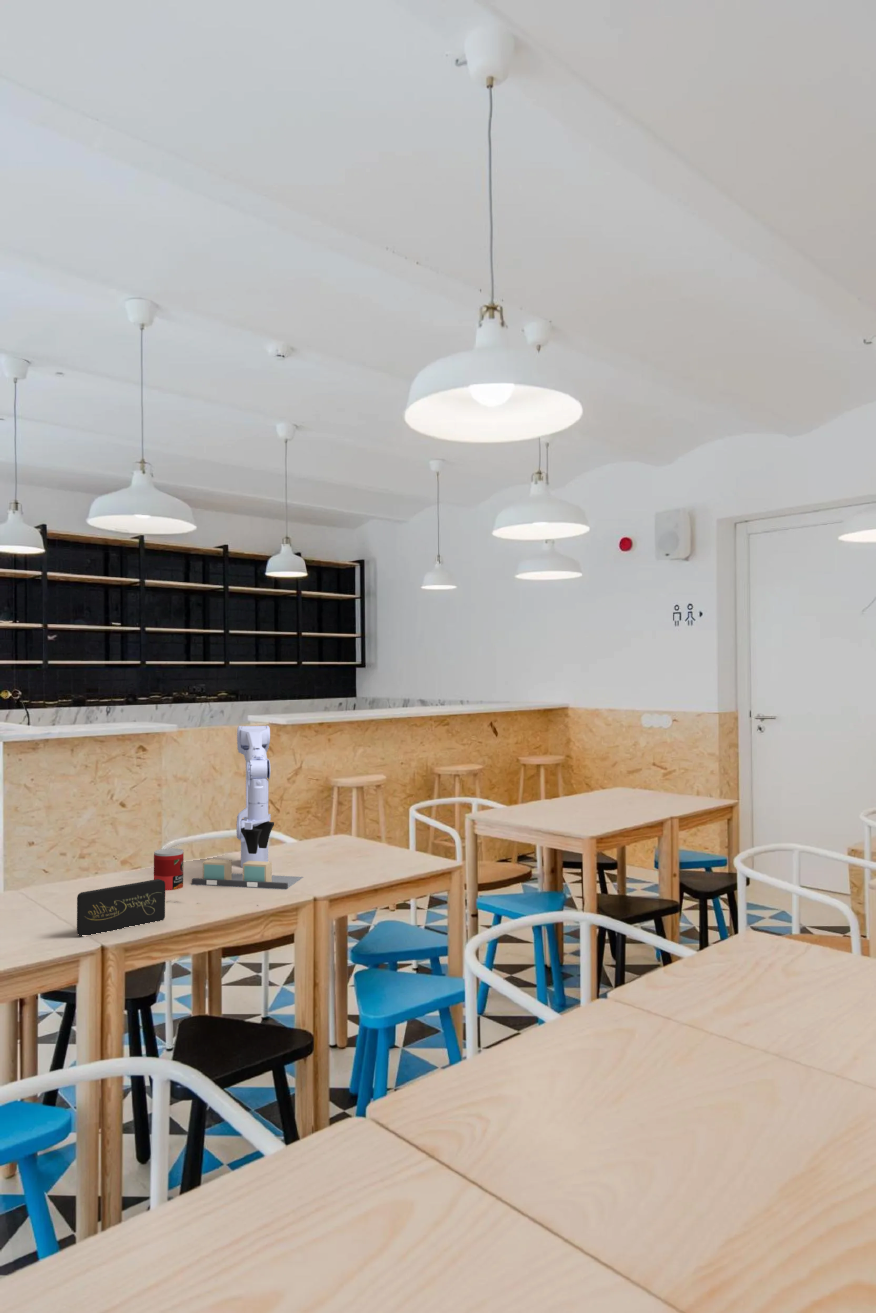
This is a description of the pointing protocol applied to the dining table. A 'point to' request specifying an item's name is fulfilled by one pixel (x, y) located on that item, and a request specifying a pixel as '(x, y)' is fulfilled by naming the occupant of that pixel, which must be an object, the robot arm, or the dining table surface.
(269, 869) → the carton
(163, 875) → the canned food
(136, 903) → the nameplate
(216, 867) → the faced carton
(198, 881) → the shelf board
